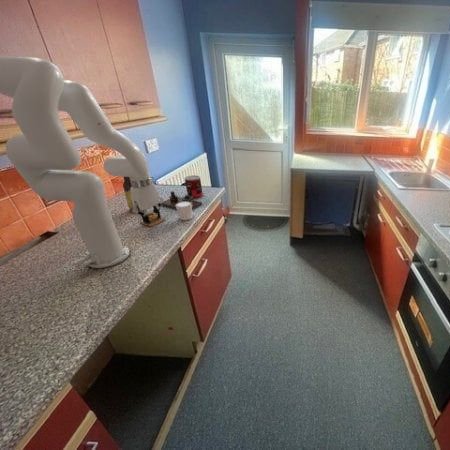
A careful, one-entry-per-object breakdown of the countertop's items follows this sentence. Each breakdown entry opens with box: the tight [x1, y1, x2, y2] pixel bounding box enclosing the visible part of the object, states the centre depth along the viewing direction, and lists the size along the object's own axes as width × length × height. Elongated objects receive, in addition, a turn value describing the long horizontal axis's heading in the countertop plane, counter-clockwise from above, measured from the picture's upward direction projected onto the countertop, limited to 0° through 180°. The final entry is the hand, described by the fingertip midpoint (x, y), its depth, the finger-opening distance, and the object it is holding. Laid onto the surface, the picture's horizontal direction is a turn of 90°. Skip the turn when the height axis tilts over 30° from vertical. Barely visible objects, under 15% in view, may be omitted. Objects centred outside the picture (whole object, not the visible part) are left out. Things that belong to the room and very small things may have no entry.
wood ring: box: [181, 196, 194, 202], centre depth 127 cm, size 5×5×1 cm
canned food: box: [184, 174, 204, 199], centre depth 140 cm, size 8×8×11 cm
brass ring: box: [146, 211, 158, 219], centre depth 113 cm, size 5×5×1 cm
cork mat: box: [140, 217, 165, 227], centre depth 114 cm, size 7×7×1 cm
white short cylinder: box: [175, 201, 193, 221], centre depth 117 cm, size 7×7×7 cm
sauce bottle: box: [122, 177, 139, 212], centre depth 120 cm, size 6×6×20 cm
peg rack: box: [161, 190, 203, 211], centre depth 130 cm, size 10×18×6 cm, turn 67°
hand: (152, 219), depth 114 cm, fingers closed on brass ring, 4 cm apart
